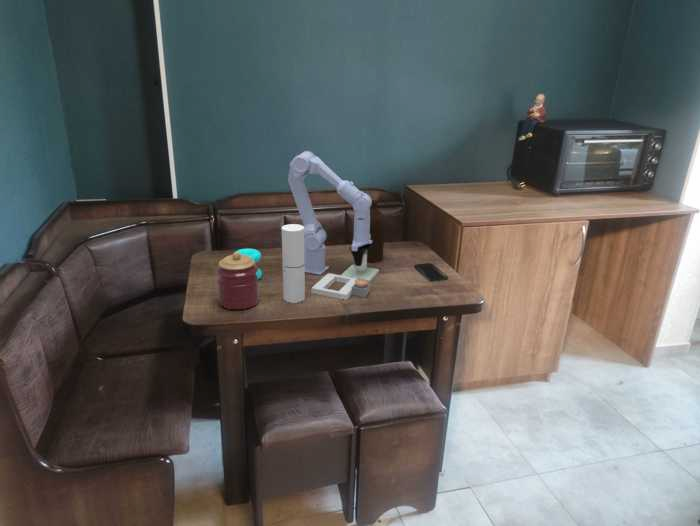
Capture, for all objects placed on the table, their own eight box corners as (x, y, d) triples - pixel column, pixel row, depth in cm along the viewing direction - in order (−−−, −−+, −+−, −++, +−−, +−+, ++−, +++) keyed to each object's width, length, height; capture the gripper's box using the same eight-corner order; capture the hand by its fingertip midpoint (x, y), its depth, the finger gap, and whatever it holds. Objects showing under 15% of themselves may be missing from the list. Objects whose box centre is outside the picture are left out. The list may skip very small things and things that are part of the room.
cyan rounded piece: (236, 259, 183) (229, 249, 191) (238, 285, 186) (230, 275, 195) (264, 255, 187) (256, 245, 195) (265, 280, 191) (257, 270, 199)
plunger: (352, 294, 181) (352, 282, 180) (357, 289, 185) (357, 277, 184) (364, 296, 180) (365, 284, 178) (369, 291, 184) (369, 279, 182)
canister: (261, 308, 170) (259, 257, 164) (220, 313, 167) (216, 261, 160) (256, 291, 182) (254, 243, 175) (218, 295, 178) (214, 246, 172)
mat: (340, 277, 195) (340, 275, 194) (352, 267, 204) (352, 264, 204) (369, 282, 191) (369, 280, 191) (379, 271, 200) (379, 269, 200)
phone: (431, 262, 208) (449, 277, 195) (431, 265, 209) (448, 280, 195) (412, 264, 206) (429, 280, 193) (412, 267, 206) (429, 282, 193)
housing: (311, 293, 182) (311, 285, 181) (328, 278, 194) (328, 270, 193) (360, 303, 176) (360, 294, 175) (374, 286, 188) (374, 279, 187)
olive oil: (389, 258, 214) (392, 198, 204) (373, 265, 206) (376, 203, 196) (368, 251, 220) (370, 193, 210) (352, 259, 212) (353, 198, 203)
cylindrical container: (296, 305, 173) (295, 232, 164) (279, 299, 177) (276, 228, 167) (309, 297, 179) (308, 226, 170) (292, 291, 182) (290, 222, 173)
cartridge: (352, 269, 195) (352, 251, 192) (356, 265, 199) (356, 247, 197) (364, 271, 194) (365, 253, 191) (368, 266, 198) (369, 248, 195)
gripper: (365, 235, 183) (363, 271, 188) (378, 224, 196) (377, 258, 201) (346, 232, 185) (345, 268, 191) (361, 221, 198) (360, 255, 203)
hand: (360, 263), depth 196 cm, fingers closed on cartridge, 5 cm apart
